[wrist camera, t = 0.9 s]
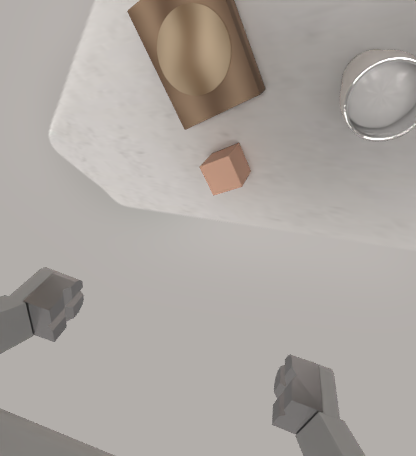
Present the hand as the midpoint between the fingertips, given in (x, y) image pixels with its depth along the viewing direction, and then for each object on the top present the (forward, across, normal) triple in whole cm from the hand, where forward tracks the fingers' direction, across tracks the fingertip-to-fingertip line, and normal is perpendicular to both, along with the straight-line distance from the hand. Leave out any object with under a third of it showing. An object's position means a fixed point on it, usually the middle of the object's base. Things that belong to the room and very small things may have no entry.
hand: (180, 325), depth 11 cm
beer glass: (+37, -11, -8) cm, 39 cm away
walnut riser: (+38, +11, -6) cm, 40 cm away
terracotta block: (+39, +3, +8) cm, 40 cm away
